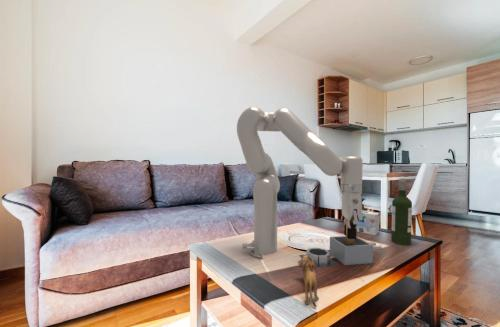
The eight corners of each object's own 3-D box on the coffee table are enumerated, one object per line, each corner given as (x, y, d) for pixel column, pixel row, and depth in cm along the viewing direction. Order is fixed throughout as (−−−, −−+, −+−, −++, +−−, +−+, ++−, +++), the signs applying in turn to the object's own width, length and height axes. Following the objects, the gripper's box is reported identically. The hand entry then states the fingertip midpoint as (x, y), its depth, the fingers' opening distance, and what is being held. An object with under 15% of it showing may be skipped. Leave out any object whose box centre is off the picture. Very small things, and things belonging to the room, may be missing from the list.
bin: (344, 269, 87) (345, 246, 87) (329, 256, 98) (329, 236, 98) (372, 267, 89) (373, 245, 89) (354, 255, 100) (355, 235, 100)
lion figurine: (296, 280, 79) (296, 253, 79) (313, 281, 79) (313, 253, 78) (306, 309, 64) (306, 275, 64) (326, 309, 64) (327, 275, 64)
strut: (359, 254, 91) (360, 211, 90) (345, 253, 91) (346, 210, 91) (354, 249, 96) (355, 208, 95) (341, 248, 96) (342, 208, 96)
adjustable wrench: (323, 248, 109) (323, 244, 109) (320, 243, 115) (320, 239, 115) (383, 251, 105) (383, 246, 105) (377, 245, 112) (377, 241, 112)
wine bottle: (414, 245, 111) (416, 179, 110) (395, 244, 112) (397, 179, 111) (406, 239, 119) (407, 177, 118) (388, 239, 120) (389, 177, 119)
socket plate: (310, 271, 85) (310, 258, 85) (298, 258, 96) (298, 247, 96) (339, 269, 87) (339, 256, 87) (324, 257, 98) (325, 245, 98)
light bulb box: (354, 231, 132) (354, 211, 132) (357, 228, 137) (358, 209, 137) (375, 235, 125) (376, 214, 125) (379, 232, 130) (379, 212, 130)
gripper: (369, 192, 84) (368, 245, 85) (354, 186, 101) (353, 231, 101) (347, 191, 85) (346, 244, 85) (335, 186, 101) (334, 230, 102)
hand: (350, 236), depth 93 cm, fingers closed on strut, 3 cm apart
